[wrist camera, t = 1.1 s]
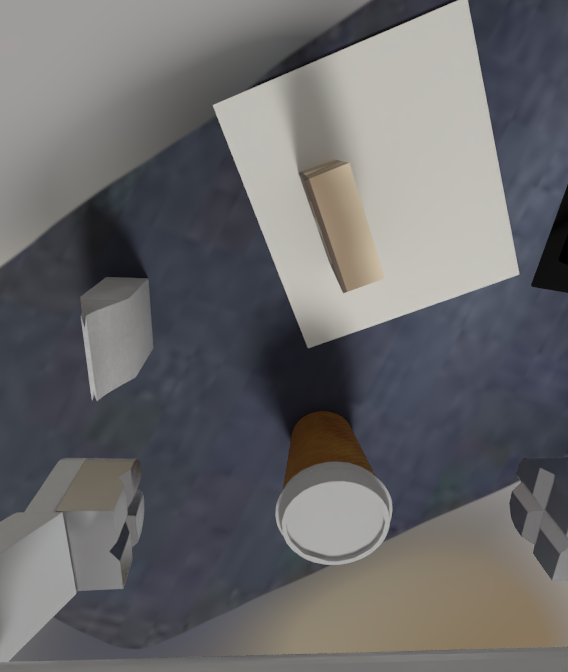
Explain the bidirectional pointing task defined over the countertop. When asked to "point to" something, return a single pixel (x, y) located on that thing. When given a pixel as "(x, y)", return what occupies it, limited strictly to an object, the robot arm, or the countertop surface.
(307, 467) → the disposable coffee cup
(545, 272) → the black mounting plate
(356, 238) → the letter block
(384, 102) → the felt mat
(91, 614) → the countertop surface
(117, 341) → the grey angular block
